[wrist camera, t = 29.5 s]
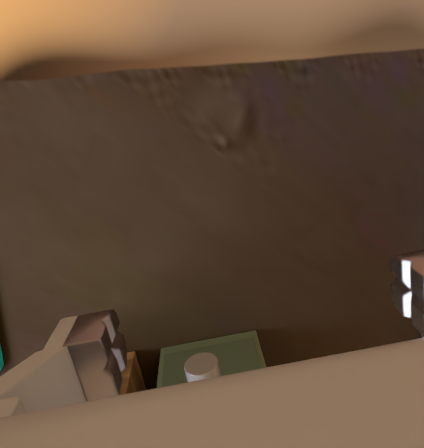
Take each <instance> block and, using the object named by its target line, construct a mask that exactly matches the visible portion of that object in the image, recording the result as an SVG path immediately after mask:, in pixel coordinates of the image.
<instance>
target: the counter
mask: <svg viewBox="0 0 424 448" xmlns="http://www.w3.org/2000/svg"><path fill="white" fill-rule="evenodd" d="M202 352H208V353H212V354H214V355H215V356H216V357H217V359H218V362H219V367H220V372H221V376H224V375H229V374H234V373H240V372H245V371H250V370H256V369H261V368H266V364H265V361H264V357H263V354H262V350H261V347H260V343H259V340H258V336H257V333H256V330H254V331H249V332H244V333H238V334H233V335H228V336H223V337H217V338H212V339H207V340H201V341H196V342H191V343H186V344H180V345H175V346H170V347H164V348H161V352H160V361H159V370H158V379H157V388H160V387H165V386H171V385H176V384H181V383H187V379H186V375H185V370H184V364H185V362H186V361H187V359H188V358H190V357H191V356H193V355H195V354H197V353H202Z"/></svg>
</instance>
